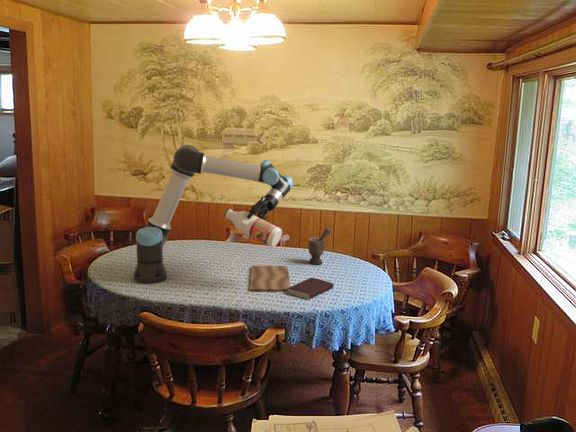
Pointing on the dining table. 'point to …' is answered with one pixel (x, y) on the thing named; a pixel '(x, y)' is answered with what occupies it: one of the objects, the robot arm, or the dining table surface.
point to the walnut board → (269, 279)
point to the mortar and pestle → (317, 247)
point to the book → (310, 288)
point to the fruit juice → (255, 227)
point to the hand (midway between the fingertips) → (244, 230)
